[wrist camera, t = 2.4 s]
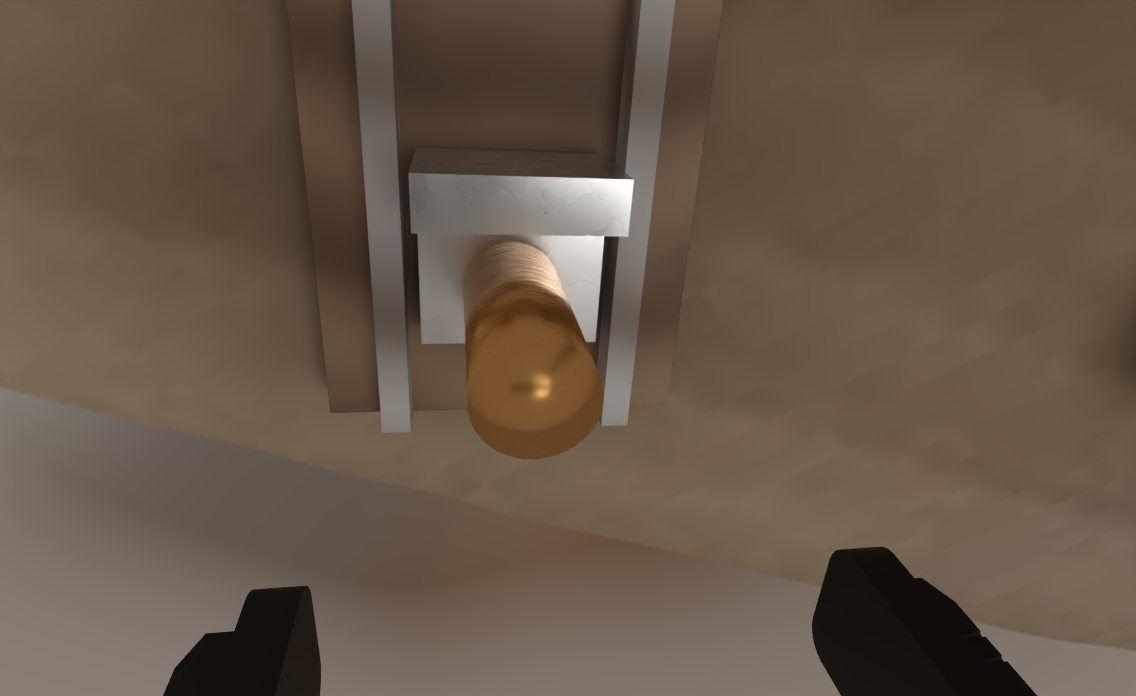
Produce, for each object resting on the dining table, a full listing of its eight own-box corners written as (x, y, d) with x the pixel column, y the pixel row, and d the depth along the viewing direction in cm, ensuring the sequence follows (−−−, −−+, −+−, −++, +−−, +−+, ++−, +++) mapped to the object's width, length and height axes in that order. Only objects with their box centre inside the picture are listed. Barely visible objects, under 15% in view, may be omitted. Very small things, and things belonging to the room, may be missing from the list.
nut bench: (247, -531, 16) (145, -804, 11) (758, -435, 18) (885, -623, 13) (338, 386, 27) (310, 477, 21) (653, 379, 29) (698, 461, 24)
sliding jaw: (416, 146, 21) (395, 218, 13) (603, 152, 22) (684, 223, 14) (422, 329, 24) (408, 478, 16) (589, 327, 25) (651, 467, 17)
